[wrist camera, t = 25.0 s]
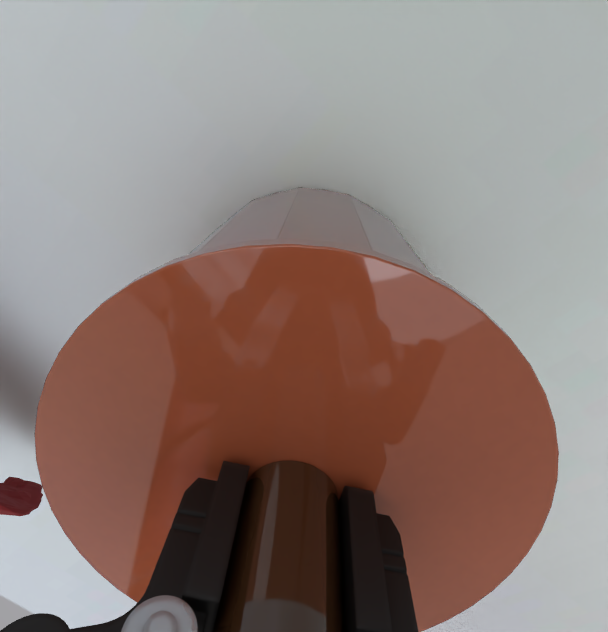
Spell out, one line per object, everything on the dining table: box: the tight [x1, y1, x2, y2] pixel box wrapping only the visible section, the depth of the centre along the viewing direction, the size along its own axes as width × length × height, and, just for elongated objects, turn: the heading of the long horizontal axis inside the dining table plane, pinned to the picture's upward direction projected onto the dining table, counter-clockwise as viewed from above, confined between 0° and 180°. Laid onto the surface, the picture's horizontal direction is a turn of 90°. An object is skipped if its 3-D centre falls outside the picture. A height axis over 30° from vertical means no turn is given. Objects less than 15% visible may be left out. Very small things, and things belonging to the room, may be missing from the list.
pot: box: [188, 187, 430, 274], centre depth 19 cm, size 13×13×12 cm
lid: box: [35, 238, 559, 632], centre depth 10 cm, size 14×14×6 cm
